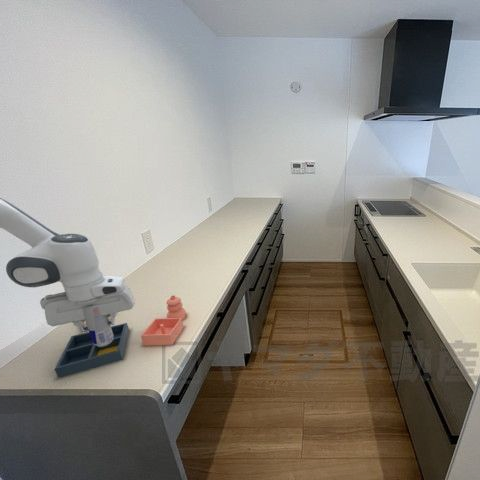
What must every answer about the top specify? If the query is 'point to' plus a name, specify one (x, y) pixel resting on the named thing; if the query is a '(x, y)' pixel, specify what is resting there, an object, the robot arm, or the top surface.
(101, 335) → the beverage can
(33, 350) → the top surface
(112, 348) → the grid
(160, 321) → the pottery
